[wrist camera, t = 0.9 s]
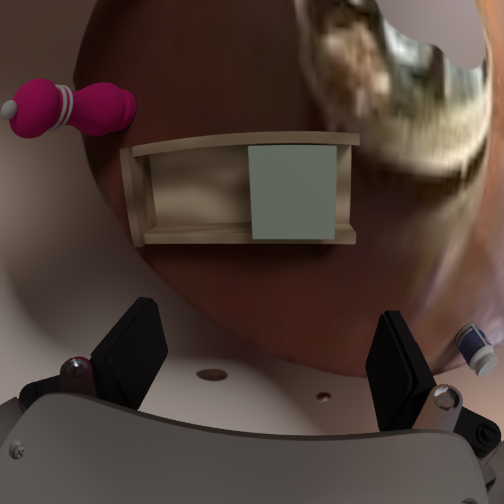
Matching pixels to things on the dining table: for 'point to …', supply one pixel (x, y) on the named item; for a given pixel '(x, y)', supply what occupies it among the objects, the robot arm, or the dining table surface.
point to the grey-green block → (293, 191)
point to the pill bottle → (476, 350)
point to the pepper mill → (68, 108)
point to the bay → (215, 188)
